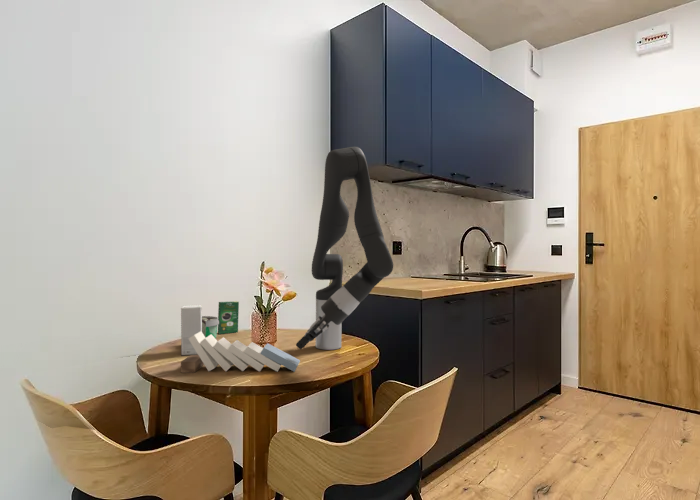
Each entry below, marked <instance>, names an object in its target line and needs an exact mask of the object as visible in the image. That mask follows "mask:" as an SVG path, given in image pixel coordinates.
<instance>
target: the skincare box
mask: <svg viewBox="0 0 700 500" xmlns="http://www.w3.org/2000/svg"><path fill="white" fill-rule="evenodd" d="M202 310H203V308H202V304H194V305H193V304H192V305H182V306H181V308H180V324H181V325H180V326H181V327H180V331H181V333H180V339H181V342H180V343H181V350H180V351H181V353H180V354H181V356H190V355H198V354H197V352H196V350H195V349H194V347H193V346H192V344H191V342H190V341H189V338H190V337H192V336H193V335H195V334H197V333H199V332H201V331H202V316H203V313H202V312H203V311H202Z"/></svg>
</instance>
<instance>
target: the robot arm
mask: <svg viewBox="0 0 700 500" xmlns="http://www.w3.org/2000/svg"><path fill="white" fill-rule="evenodd" d="M368 167H369V166H368V162H367V158H366V155H365V154H364V152H363V150H362V149H361V148H360V147H359V146H348V147H344V148H336V149H333V150H330V151H329V152H328V153H327V155H326V159H325V164H324V179H323V180H324V183H323V196H322V202H321V203H322V204H321V211H320V215H319V222H318V230H317V239H316V245H315V249H314V253H313V258H312V262H311V275H312V277H313V279H315V280H319V281H320V280H321V281H324V280H325V281H329V280H330V281H331V282H330V284H329V285H327V286H326V287H322V288H321V289H318V290H316V293H315V321H314V322H313V323H312V324H311V325H310V326H309V328H308V329H307V331H306V332H305V333H304V335H303V336H302V337H301V338H300V339H299V340H298V341H297V342H296V344H295V345H296V347H297V349H299V350H302V349H303V348H305V346H307V345H308V344H309V342H312V341H314V339H315V348H316V349H319V350H326V351H329V350H338V349H341V348H342V331H343V330H342V328H343V327H342V323H343V322H344V321H345V319H347V317H349V316H350V315H351V314H352V313H353V312H354V310H356V309H357V307H358V306H359V305H360V303H361V302H363V301H364V300H365V298H367V296H368V295H370V293H371V292H372V290H373V289H374V288H375V287H376V286H377V285H378V284H379V283H380V282H381V281H382V280H384V279H385V278H386V277H388V276H390V274H391V273H392V272H393V270H394V262H393V257H392V256H391V253H390V250H389V248H388V246H387V243H386V241H385V238H384V233H383V230H382V227H381V225H380V224H381V223H380V221H379V218H378V214H377V211H376V207H375V202H374V196H373V190H372V184H371V183H372V182H371V178H370V173H369V172H370V171H369V168H368ZM349 180H354V183H355V185H356V189H357V190H356V191H357V197H356V203H355V209H354V213H353V214H354V215H353V216H354V217H353V218H354V219H353V220H354V221H353V222H354V226H355V229H356V233H357V236H358V239H359V242H360V244H361V246H362V248H363V250H364V255H365V259H366V263H365V264H364V265H363V266H362V267H361V268H360V269H359V271H357V272H356V274H354V275H353V276H351V277H350V278H349V279H348V280H347V281H346V282H345V283H344V284H343V271H344V262H343V261H344V260H343V257H342V255H341V254H338V253H328V252H329V251H330V249H331V248H333V247H334V246H335V245H336V244H337V243H338V242H339V241H340V240H341V239H342V238H343V237H344V236H345V234H346V232H347V229H348V224H349V219H350V213H349V208H348V207H347V205H346V203H345V201H344V199H343V197H342V195H341V189H342V184H343V182H345V181H349Z"/></svg>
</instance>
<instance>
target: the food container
mask: <svg viewBox="0 0 700 500" xmlns="http://www.w3.org/2000/svg"><path fill="white" fill-rule="evenodd" d="M218 324H219V320H218V316H213V315H212V316H211V315H207V316H206V315H205V316H203V315H202V333H203V335H204V336H205V338H206V337H208V336H209V335H211V334H212V335H213V336H214V338H215V339H216V340H217V335H218Z"/></svg>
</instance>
